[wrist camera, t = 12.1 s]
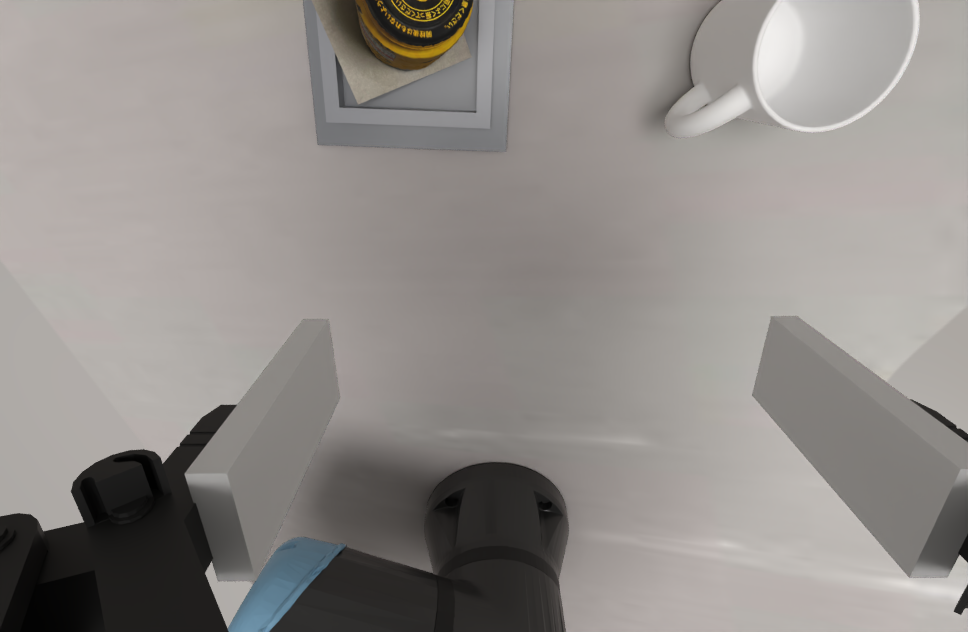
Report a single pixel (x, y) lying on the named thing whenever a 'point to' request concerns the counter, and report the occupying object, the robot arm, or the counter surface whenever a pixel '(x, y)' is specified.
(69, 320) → the counter surface
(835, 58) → the mug
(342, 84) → the dock
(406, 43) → the condiment
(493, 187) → the counter surface
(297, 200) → the counter surface
